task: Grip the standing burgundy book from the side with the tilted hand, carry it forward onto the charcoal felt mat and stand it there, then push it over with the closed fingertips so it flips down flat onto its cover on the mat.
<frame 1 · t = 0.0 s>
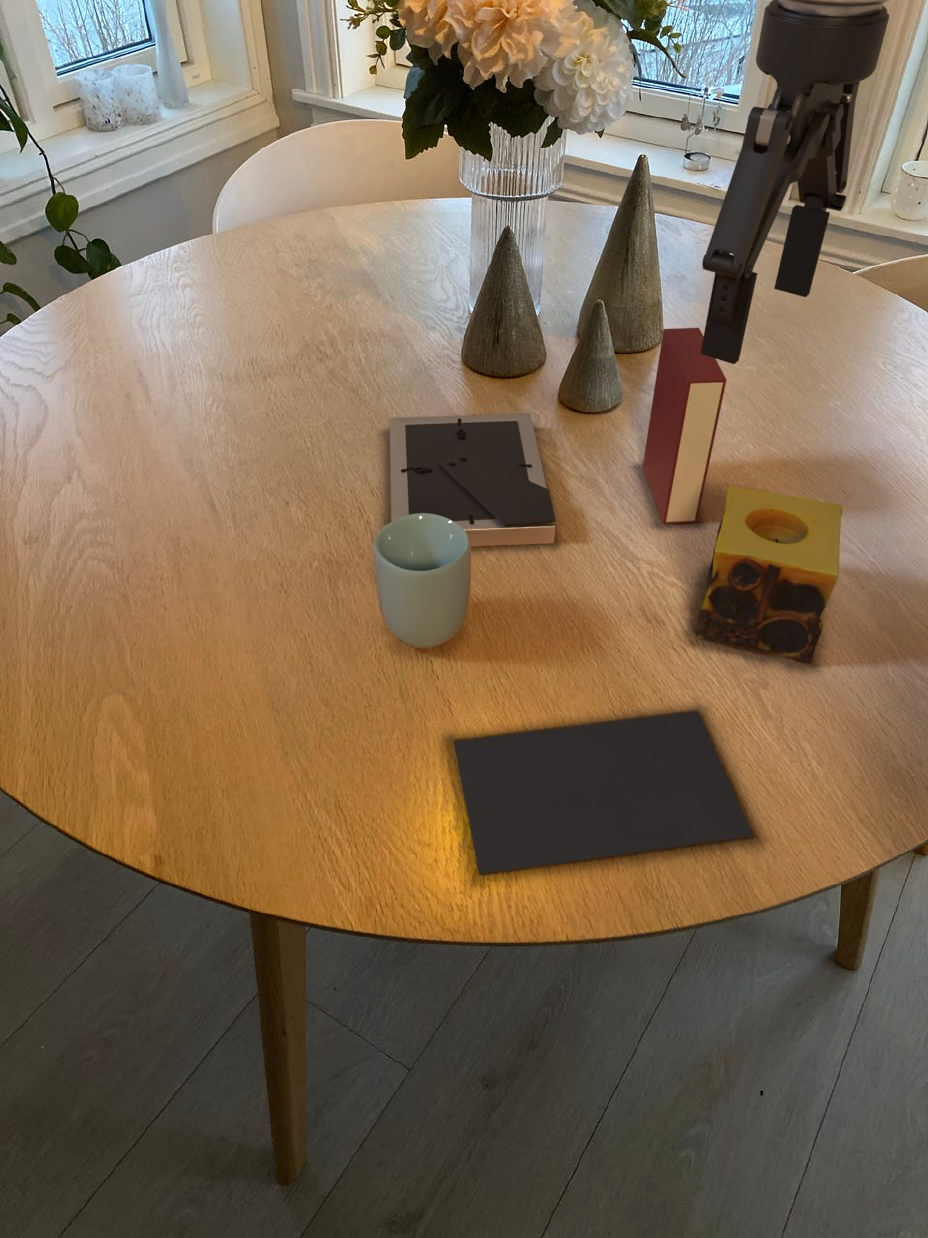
hand: (757, 323, 74), 25 cm above the table, tool pointing down, fingers open, 13 cm apart
cup: (425, 631, 85), on the table
mat: (596, 788, 72), on the table
book: (668, 494, 100), on the table
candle: (756, 617, 86), on the table
picture frame: (466, 486, 101), on the table
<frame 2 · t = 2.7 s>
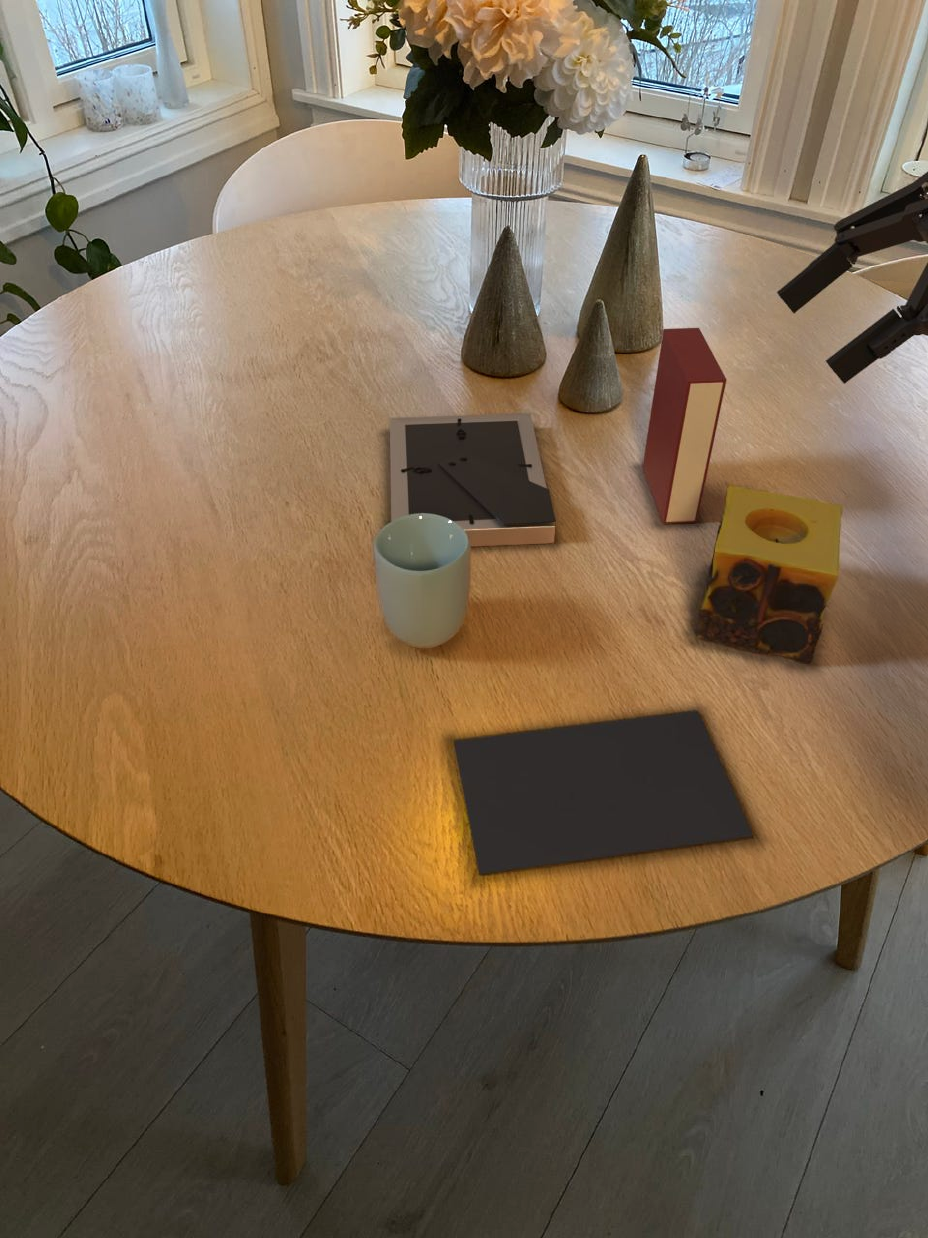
hand: (808, 336, 88), 17 cm above the table, tool tilted 45°, fingers open, 13 cm apart
nothing on the table moved.
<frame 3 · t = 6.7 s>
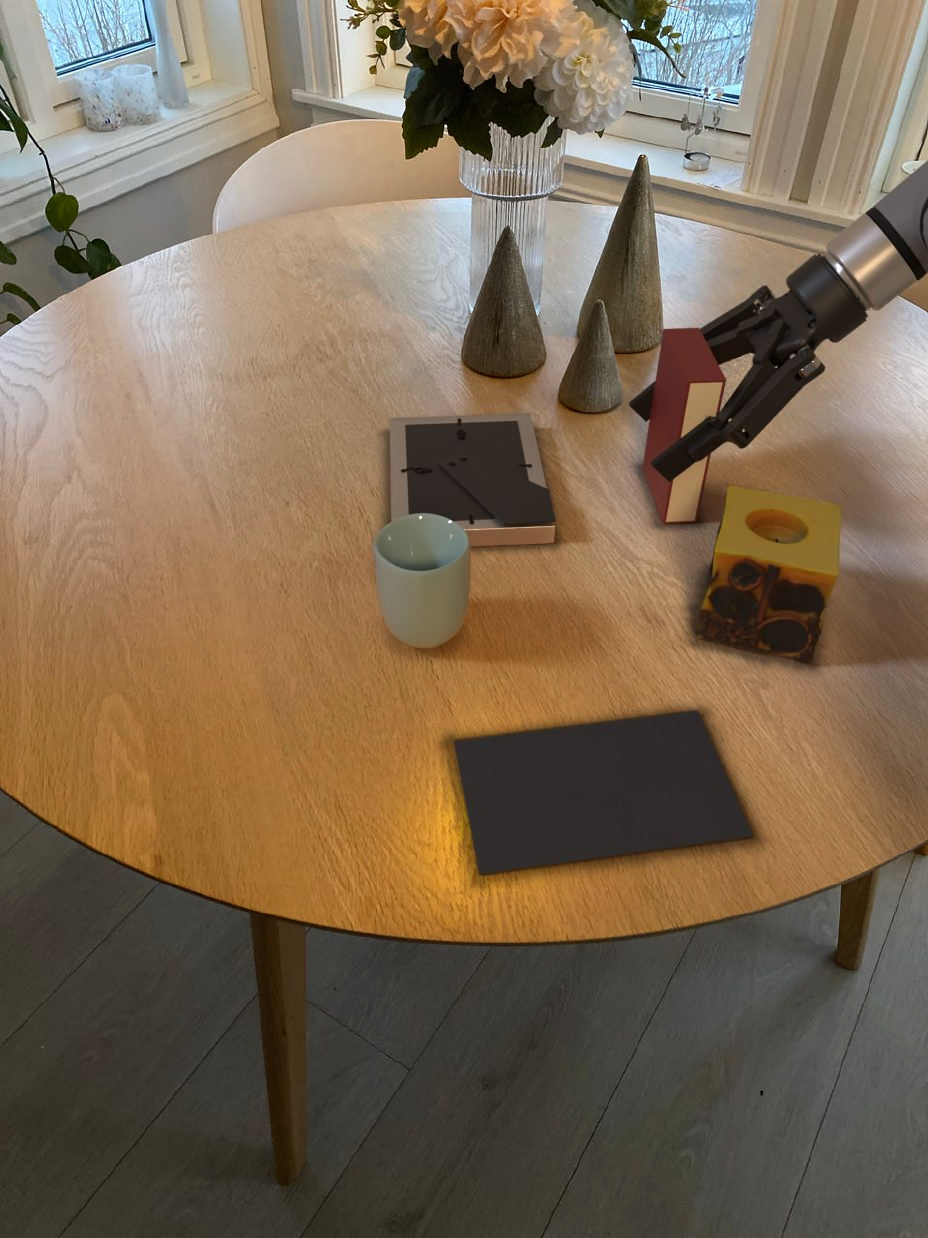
hand: (648, 441, 95), 7 cm above the table, tool tilted 45°, fingers closed on book, 10 cm apart
book: (668, 494, 100), on the table, touching gripper
everything else where it was.
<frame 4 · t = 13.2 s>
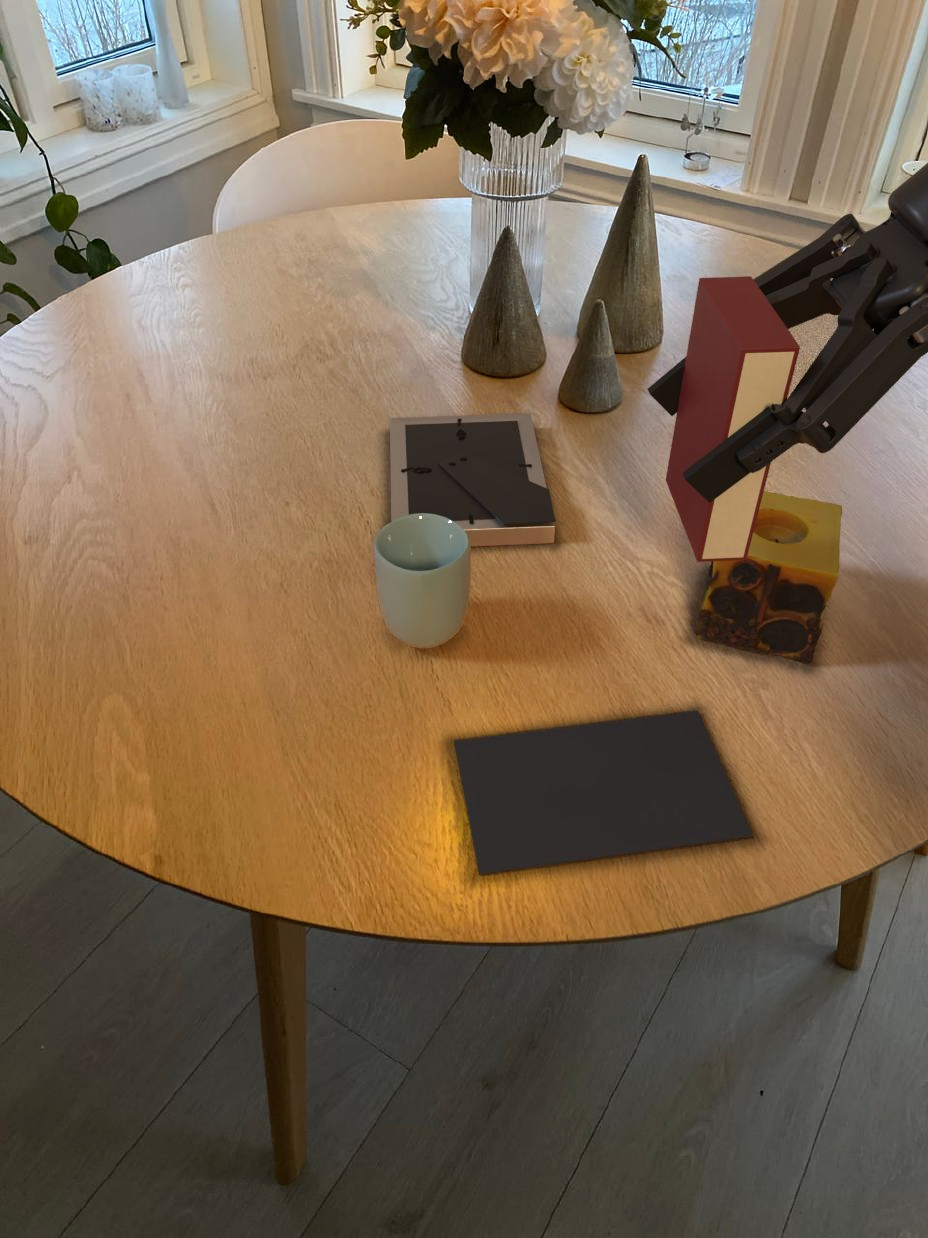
hand: (676, 442, 66), 23 cm above the table, tool tilted 45°, fingers closed on book, 10 cm apart
book: (703, 518, 70), point 16 cm above the table, touching gripper
everything else where it was.
when the fingers open (7 cm above the table, at t = 19.6 s): book stays where it is, resting on mat.
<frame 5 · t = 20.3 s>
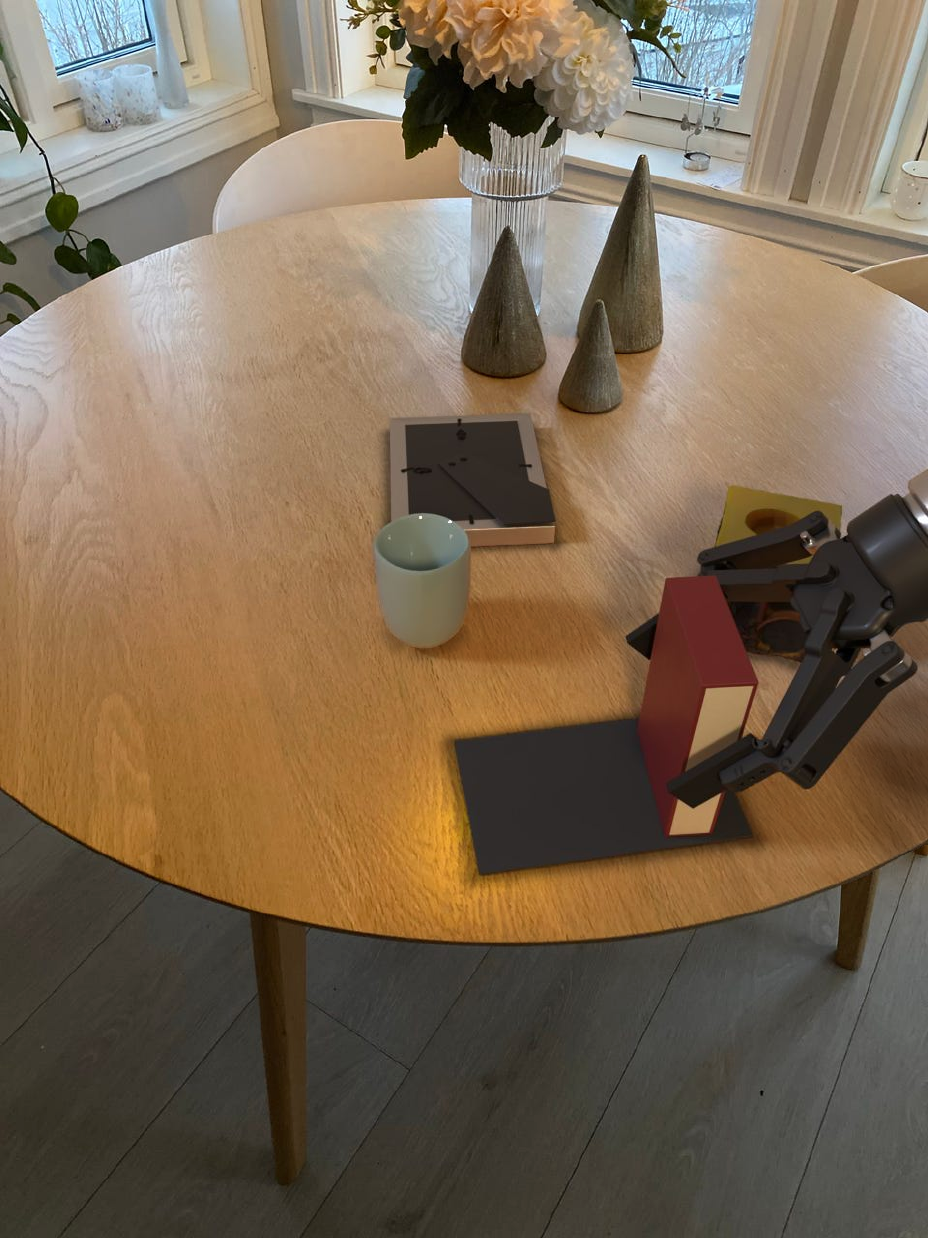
hand: (656, 717, 67), 8 cm above the table, tool tilted 45°, fingers open, 13 cm apart
book: (672, 779, 72), resting on mat
everything else where it was.
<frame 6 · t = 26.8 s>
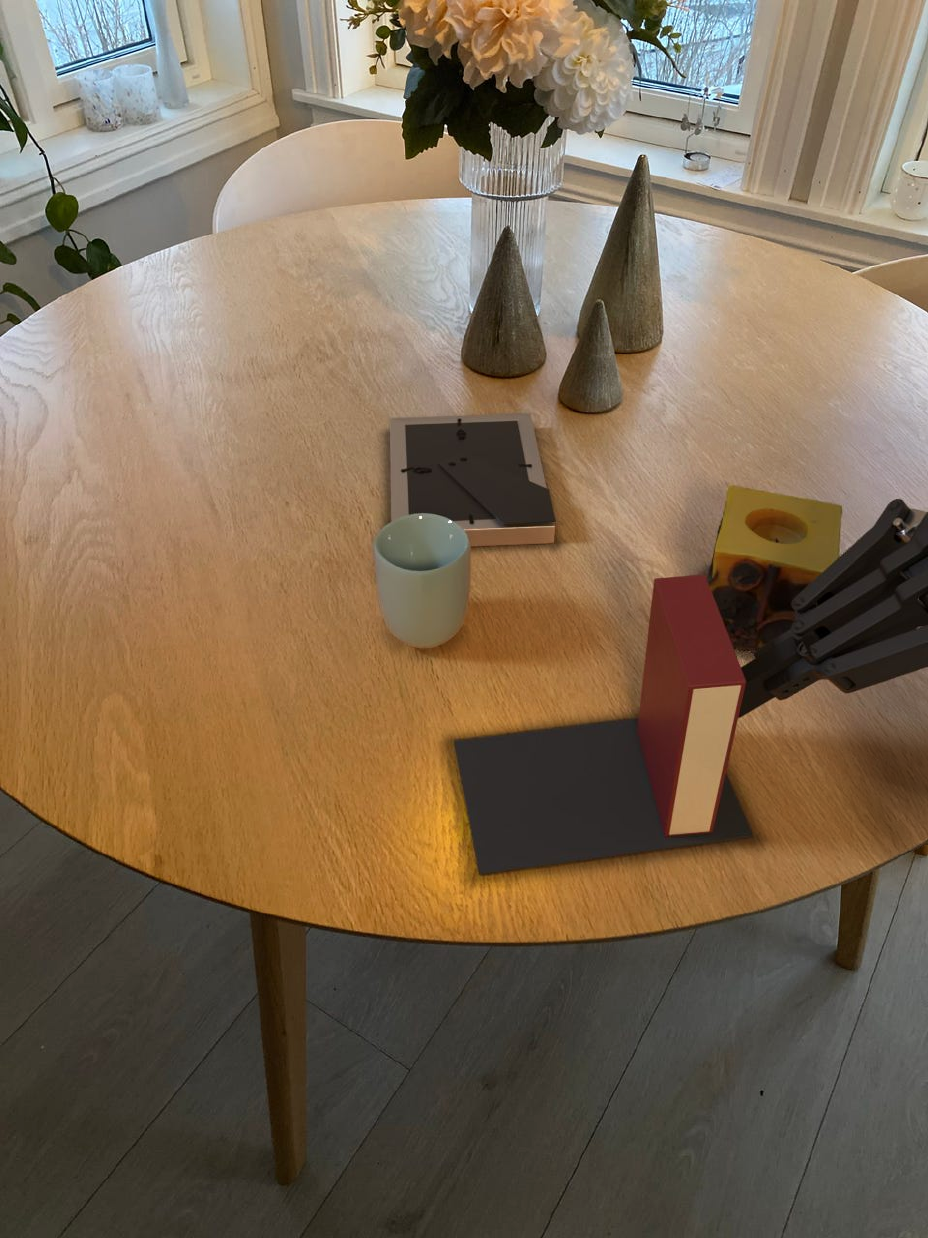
hand: (725, 701, 67), 9 cm above the table, tool tilted 45°, fingers closed
book: (672, 779, 72), resting on mat, touching gripper
everything else where it was.
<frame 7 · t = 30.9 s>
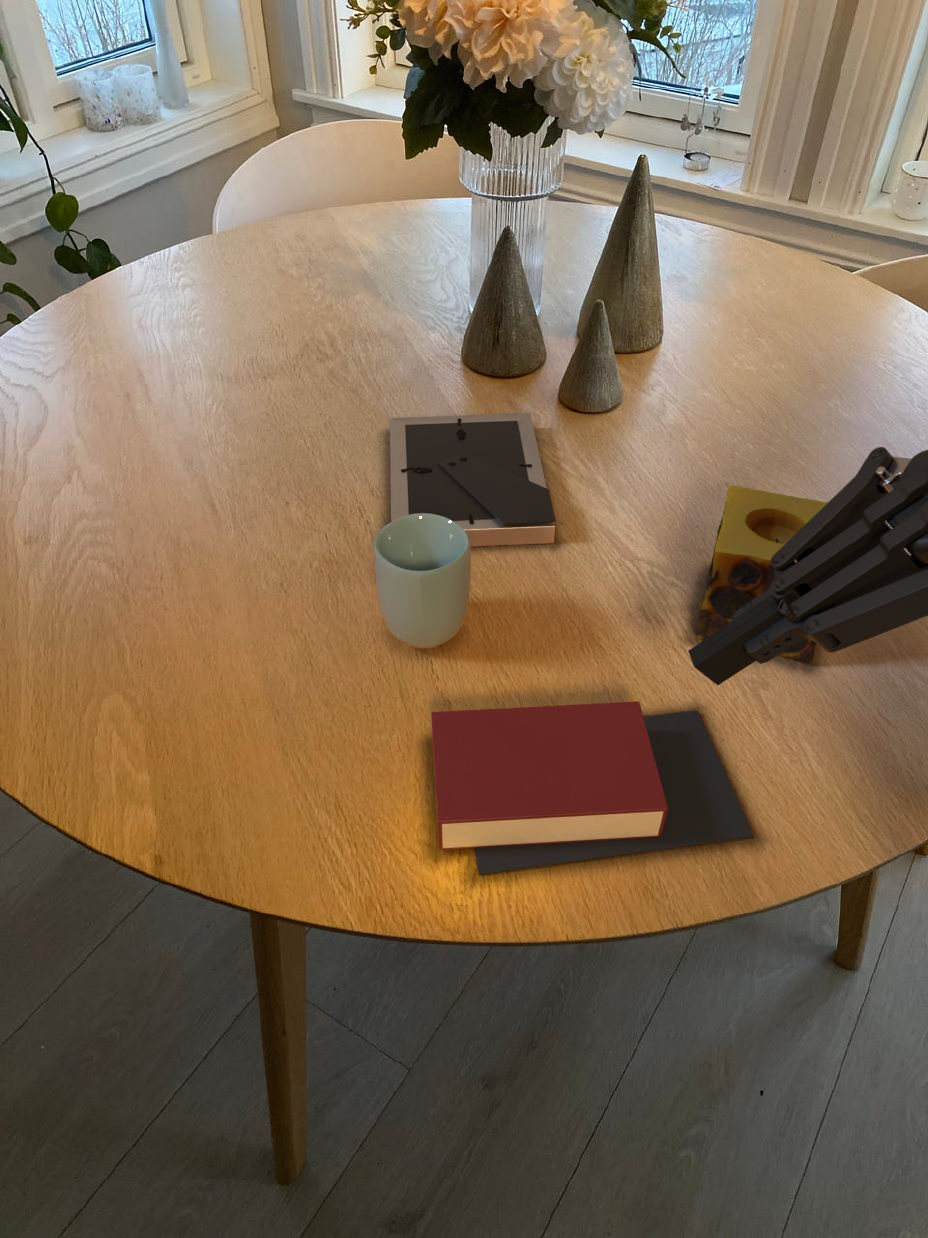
hand: (703, 668, 63), 13 cm above the table, tool tilted 45°, fingers closed
book: (650, 766, 71), point 2 cm above the table, tilted 90°, touching mat
everything else where it was.
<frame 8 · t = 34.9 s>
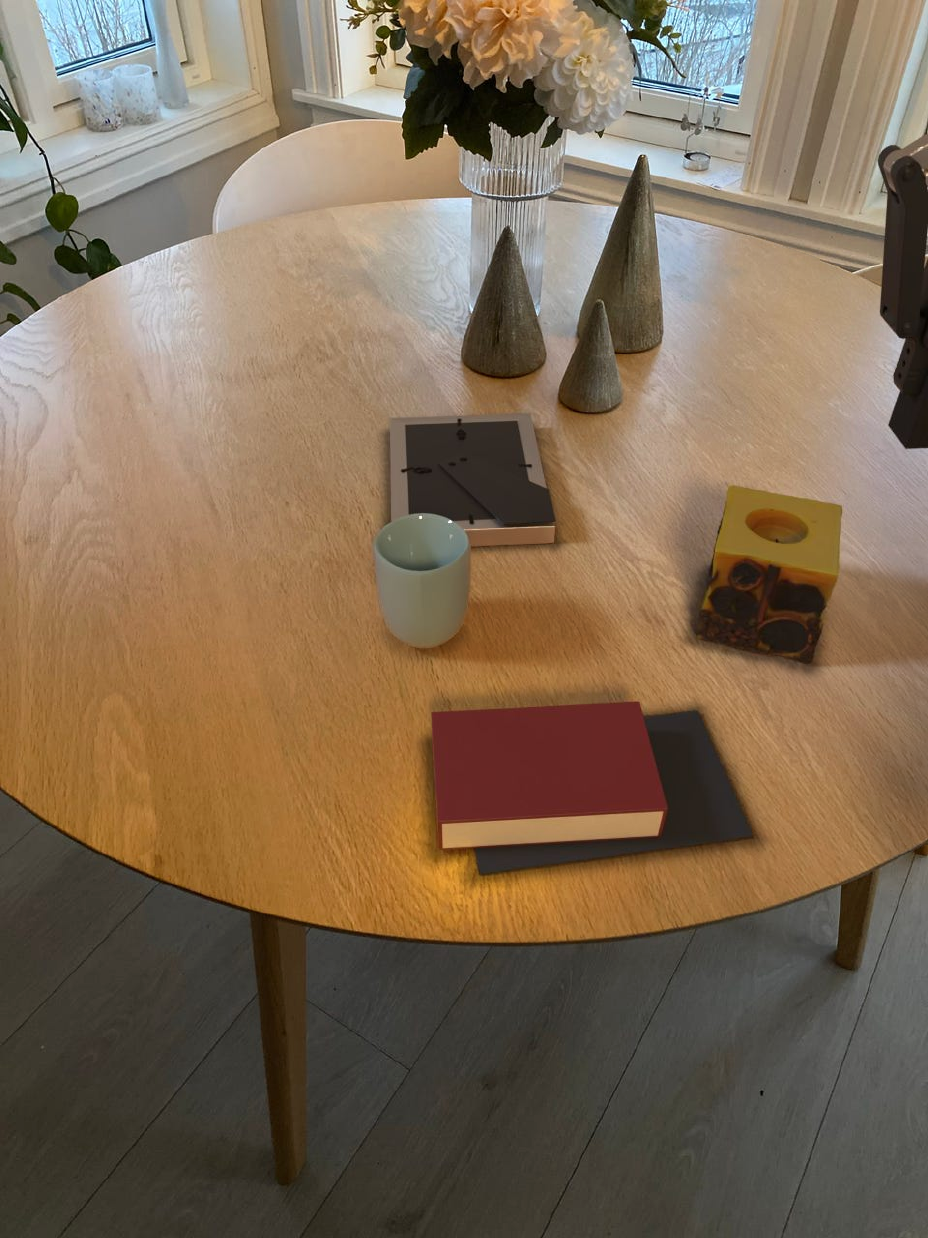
hand: (908, 436, 59), 26 cm above the table, tool pointing down, fingers closed
nothing on the table moved.
at the end: book tilted 90°; book inside the target area on the mat (3.5 cm from its centre), point 2.0 cm above the mat's base; book moved 37.9 cm from its start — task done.
